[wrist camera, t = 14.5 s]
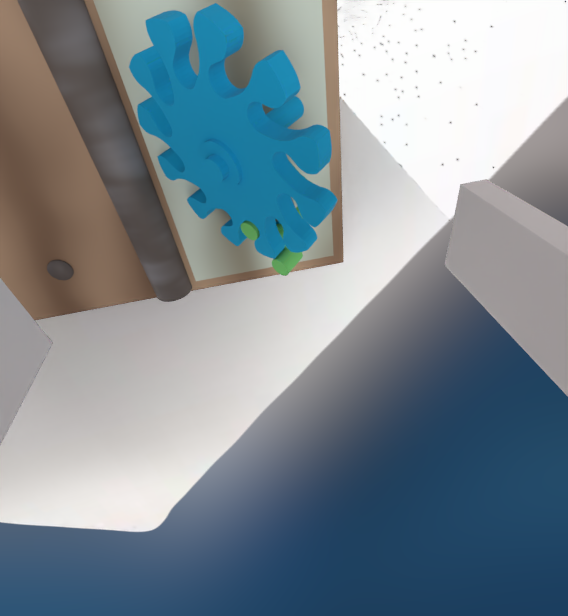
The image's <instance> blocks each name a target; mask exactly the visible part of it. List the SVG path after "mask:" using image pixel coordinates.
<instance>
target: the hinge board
mask: <svg viewBox="0 0 568 616" xmlns="http://www.w3.org/2000/svg"><path fill="white" fill-rule="evenodd" d="M215 3H216V4H218V5H220V6H221V7H223V8H224V9H226V10H227V11H228V12H229V13H231V14H232V15H233V16H234V17H235V18H236V19H237V20H238V22H239V23H240V24H241V26H242V27H243V32H244V40H243V44H242V47H241V48H240V50H238V51H237V52H235V53H234V54H232V55H230V56H228V57H227V58H226V59H225V63H224V66H225V72H226V75H227V77H228V79H229V81H230V82H231V83H232V84H233V85H234V86H235V87H237V88H239V89H242V88H246V87H247V86H248V84H249V81H250V79H251V76H252V72H253V68H254V66H255V65H256V64H257V63H258V62H259V61H261V60H262V59H264V58H265V57H267V56H269V55H270V54H272V53H273V52H275V51H278V50H284V52H285V54H286V55H287V57H288V59H289V60H290V62H291V64H292V66H293V68H294V69H295V71H296V74H297V76H298V79H299V83H300V86H301V88H300V91H299V92H298V94H297V95H295V96H296V97H298V98H299V99H300V100H301V101H302V103H303V106H304V113H303V116H302V117H301V118H299V119H298V120H297V121H296V122H294V123H293V124H292V125H291V126H289V127H288V128H289V129H294V130H301V129H305V128H308V127H310V126H312V125H322V126H324V127H326V128H327V129H329V130H330V136H331V145H332V154H331V159H330V162H329V163H328V164H327V165H326V166H325V167H324V168H323V169H322V170H321V171H320V172H319V173H318V174H307V173H305V172H304V171H302V170H301V169H300V168H299V167H298V166H297V165H296V164H295V162H294V161H293V160H292V159H291V158H290V157H289V156H288V155H287V154H286V156H287V158H288V160H289V161H290V162H291V163H292V165H293V166H294V167H295V168H296V169H297V170H298V172H299V173H300V174H301V175H302V176H304V177H305V178H306V179H307V180H309V181H310V182H312V183H314V184H316V185H318V186H320V187H324V188H326V189H328V190H330V191H331V192H332V193H333V194H334V195H335V196H336V198H337V203H336V205H335V207H334V208H333V210H332V211H331V212H330V213H329V215H328V216H327V217H326V218H325V219H324V220H323V221H322V222H321V223H320V224H319V225H318V226H317V227H312V226H311V225H310V226H311V227H312V228H313V229H314V230H315V232H316V234H317V240H316V241H315V242H314V243H313V245H312V246H311V247H310V248H309V249H308V250H307V251H303V252H302V254H303V257H302V259H301V260H300V261H299V262H298V263H297V264H296V266H295V267H294V268H293V269H292V270H291V271H290V272H293V271H299V270H304V269H309V268H315V267H320V266H325V265H331V264H336V263H341V262H343V227H342V187H341V147H340V107H339V67H338V27H337V0H0V278H1V280H2V281H3V282H4V283H5V285H6V286H7V287H8V288H9V289H10V291H11V292H12V293H13V294H14V296H15V297H16V298H17V299H18V301H19V302H20V303H21V304H22V306H23V307H24V308H25V309H26V310H27V312H28V313H29V314H30V315H31V317H32V318H33V319H34V320H39V319H44V318H49V317H54V316H60V315H65V314H70V313H76V312H81V311H86V310H92V309H97V308H102V307H108V306H113V305H118V304H124V303H129V302H134V301H139V300H145V299H150V298H155V297H157V298H158V299H159V300H161V301H165V302H170V301H175V300H178V299H181V298H183V297H185V296H186V295H187V294H188V293H189V292H190V291H193V290H198V289H203V288H208V287H214V286H219V285H224V284H230V283H235V282H240V281H246V280H251V279H256V278H262V277H267V276H272V275H278V274H279V273H278V272H277V271H276V270H275V269H274V268H273V266H272V260H273V258H269V257H267V256H264V255H262V254H261V253H259V252H257V250H256V248H255V245H254V242H255V240H251V239H249V238H246V239H245V240H244V241H243V242H242V243H241V244H240V245H239V246H236V245H234V244H233V243H232V242H230V241H229V240H228V239H227V238H226V237H225V236H224V235H223V234H222V233H221V227H222V226H223V225H224V224H225V223H227V222H228V221H229V220H230V219H231V217H230V216H229V214H228V213H227V212H226V211H224V210H222V209H215V210H214V211H213V212H212V213H211V214H209V215H208V216H207V217H206V218H204V219H201V218H199V217H198V215H197V214H196V213H195V212H194V210H193V209H192V208H191V206H190V205H189V203H188V201H187V199H188V197H190V196H191V195H192V194H193V193H195V192H196V191H197V190H199V189H200V188H199V187H198V186H196V185H194V184H193V183H191V182H189V181H187V180H184V179H176V180H174V181H173V180H170V179H168V178H167V177H166V176H165V174H164V172H163V170H162V168H161V166H160V164H159V161H158V157H157V156H159V155H160V154H162V153H163V152H165V151H166V150H168V149H169V148H171V147H170V146H169V145H168V144H166V143H165V142H164V141H163V140H161V139H160V138H158V137H156V136H154V135H150V134H149V133H147V132H146V131H145V130H144V129H143V128H142V127H141V126H140V124H139V119H138V113H137V107H138V104H140V103H142V102H143V101H145V100H147V99H149V98H150V97H152V96H151V95H150V94H149V93H148V92H147V90H146V89H145V88H143V87H142V86H141V85H140V84H139V83H138V82H137V81H136V79H135V78H134V77H133V75H132V73H131V71H130V69H129V65H130V61H131V59H132V57H133V56H134V55H135V54H137V53H139V52H141V51H143V50H145V49H147V48H149V47H151V46H154V45H153V43H152V41H151V39H150V37H149V35H148V32H147V28H146V21H145V20H147V19H149V18H152V17H154V16H156V15H158V14H161V13H163V12H166V11H172V10H176V11H180V12H182V13H184V14H186V16H187V18H188V20H189V23H190V26H191V29H192V35H193V40H192V45H191V48H190V52H189V60H190V64H191V66H192V69H193V70H194V72H195V74H196V75H197V76H198V73H199V52H198V46H197V42H196V38H195V34H194V28H193V20H194V16H195V14H196V13H197V11H200V10H202V9H204V8H206V7H208V6H210V5H212V4H215ZM262 107H263V110H264V112H265V114H267V113H268V112H270V111H271V110H272V109H274V108H270V107H267V106H265V105H263V104H262ZM292 200H293V202H294V205H295V207H297V204H296V202H295V200H294V199H293V198H292Z"/></svg>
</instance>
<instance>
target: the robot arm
mask: <svg viewBox="0 0 568 616" xmlns="http://www.w3.org/2000/svg"><path fill="white" fill-rule="evenodd" d="M445 266H446V267H447V268H448V269H449V270H450V272H452V274H453V275H454V276H455V277H456V278H457V279H458V280H459V281H460V282H461V283H462V284H463V285H464V286H465V287H466V289H467V290H468V291H469V292H470V293H471V294H472V295H473V296H474V297H475V298H476V299H477V300H478V301H479V302H480V303H481V304H482V305H483V306H484V308H485V309H486V310H487V311H488V312H489V313H490V314H491V315H492V316H493V317H494V318H495V319H496V320H497V321H498V323H499V324H500V325H501V326H502V327H503V328H504V329H505V330H506V331H507V332H508V333H509V334H510V335H511V336H512V337H513V339H514V340H516V342H517V343H518V344H519V345H520V346H521V347H522V348H523V349H524V350H525V351H526V352H527V353H528V354H529V356H531V358H532V359H533V360H534V361H535V362H536V363H537V364H538V365H539V366H540V367H541V368H542V369H543V370H544V371H545V373H546V374H547V375H548V376H549V377H550V378H551V379H552V380H553V381H554V382H555V383H556V384H557V385H558V386H559V387H560V388H561V390H562V391H563V392H564V393H565V394H566V395H567V396H568V226H566V225H564V224H563V223H561V222H559V221H558V220H556V219H554V218H552V217H550V216H549V215H547V214H545V213H544V212H542V211H540V210H539V209H537V208H535V207H533V206H532V205H530V204H528V203H527V202H525V201H523V200H521V199H520V198H518V197H516V196H514V195H513V194H511V193H509V192H508V191H506V190H504V189H502V188H501V187H499V186H497V185H496V184H494V183H492V182H490V181H489V180H487V179H486V180H481V181H475V182H470V183H465V184H461V185H460V190H459V195H458V200H457V205H456V210H455V215H454V220H453V225H452V230H451V236H450V240H449V245H448V250H447V256H446V261H445ZM51 345H52V341H51V340H50V339H49V338H48V336H47V335H46V334H45V333H44V332H43V330H42V329H41V328H40V327H39V325H38V324H37V323H36V322H35V320H34V319H33V318H32V317H31V315H30V314H29V313H28V312H27V310H26V309H25V308H24V307H23V306H22V304H21V303H20V302H19V301H18V299H17V298H16V297H15V296H14V294H13V293H12V292H11V291H10V289H9V288H8V287H7V286H6V285H5V283H4V282H3V281H2V280H1V278H0V445H1V443H2V441H3V439H4V437H5V435H6V433H7V431H8V429H9V427H10V425H11V423H12V421H13V420H14V418H15V416H16V414H17V412H18V410H19V408H20V406H21V404H22V402H23V400H24V398H25V396H26V394H27V392H28V390H29V388H30V386H31V384H32V382H33V380H34V378H35V377H36V375H37V373H38V371H39V369H40V367H41V365H42V363H43V361H44V359H45V357H46V355H47V353H48V351H49V349H50V347H51Z"/></svg>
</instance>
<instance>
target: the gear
mask: <svg viewBox="0 0 568 616" xmlns="http://www.w3.org/2000/svg"><path fill="white" fill-rule="evenodd" d="M145 21H146V28H147V32H148V35H149V37H150V39H151V41H152V43H153V45H154V46H151V47H149V48H147V49H145V50H143V51H141V52H139V53H137V54H135V55H134V56H133V57H132V59H131V61H130V65H129V69H130V71H131V73H132V75H133V77H134V78H135V79H136V81H137V82H138V83H139V84H140V85H141V86H142V87H143V88H145V89H146V90H147V92H148V93H149V94H150V95H151V96H152V97H150V98H149V99H147V100H145V101H143V102H142V103H140V104H138V107H137V113H138V119H139V124H140V126H141V127H142V128H143V129H144V130H145V131H146V132H147V133H149V134H150V135H154V136H156V137H158V138H160V139H161V140H163V141H164V142H165V143H166V144H168V145H169V146H170V147H171V148H169V149H168V150H166V151H165V152H163V153H162V154H160V155H159V156H157V157H158V161H159V164H160V166H161V168H162V170H163V172H164V174H165V176H166V177H167V178H168V179H170V180H173V181H174V180H176V179H184V180H187V181H189V182H191V183H193V184H194V185H196V186H198V187H199V188H200V189H199V190H197V191H196V192H195V193H193V194H192V195H191V196H190V197H188V199H187V201H188V203H189V205H190V206H191V208H192V209H193V210H194V212H195V213H196V214H197V215H198V217H199V218H201V219H204V218H206V217H207V216H208V215H209V214H211V213H212V212H213V211H214V210H215V209H222V210H224V211H226V212H227V213H228V214H229V216H230V217H231V219H230V220H229V221H228V222H227V223H225V224H224V225H223V226H222V227H221V233H222V234H223V235H224V236H225V237H226V238H227V239H228V240H229V241H230V242H232V243H233V244H234V245H236V246H239V245H240V244H241V243H242V242H243V241H244V240H245V239H246V238H249V239H251V240H255V242H254V245H255V248H256V250H257V252H259V253H261V254H262V255H264V256H267V257H269V258H273V260H272V266H273V268H274V269H275V270H276V271H277V272H278V273H279V274H281V275H285V276H286V275H288V273H289V272H290V271H291V270H292V269H293V268H294V267H295V266H296V264H297V263H298V262H299V261H300V260H301V259H302V257H303V254H302V252H303V251H307V250H308V249H309V248H310V247H311V246H312V245H313V243H314V242H315V241H316V240H317V234H316V232H315V230H314V229H313V228H312V227H317V226H318V225H319V224H320V223H321V222H322V221H323V220H324V219H325V218H326V217H327V216H328V215H329V213H330V212H331V211H332V210H333V208H334V207H335V205H336V203H337V198H336V196H335V195H334V194H333V193H332V192H331V191H330V190H328V189H326V188H324V187H320V186H318V185H316V184H314V183H312V182H310V181H309V180H307V179H306V178H305V177H304V176H302V175H301V174H300V173H299V172H298V170H297V169H296V168H295V167H294V166H293V165H292V163H291V162H290V161H289V160H288V158H287V156H286V154H287V155H288V156H289V157H290V158H291V159H292V160H293V161H294V162H295V164H296V165H297V166H298V167H299V168H300V169H301V170H302V171H304V172H305V173H307V174H318V173H319V172H320V171H321V170H322V169H323V168H324V167H325V166H326V165H327V164H328V163H329V162H330V159H331V154H332V145H331V136H330V130H329V129H327V128H326V127H324V126H322V125H312V126H310V127H308V128H305V129H301V130H294V129H289V128H288V127H289V126H291V125H292V124H293V123H294V122H296V121H297V120H298V119H299V118H301V117H302V116H303V113H304V106H303V103H302V101H301V100H300V99H299V98H298V97H296V96H295V95H297V94H298V92H299V91H300V88H301V86H300V83H299V79H298V76H297V74H296V71H295V69H294V68H293V66H292V64H291V62H290V60H289V59H288V57H287V55H286V54H285V52H284V50H278V51H275V52H273V53H272V54H270V55H269V56H267V57H265V58H264V59H262V60H261V61H259V62H258V63H257V64H256V65H255V66H254V68H253V72H252V76H251V79H250V81H249V84H248V86H247V87H246V88H242V89H239V88H237V87H235V86H234V85H233V84H232V83H231V82H230V81H229V79H228V77H227V75H226V72H225V66H224V63H225V59H226V58H227V57H228V56H230V55H232V54H234V53H235V52H237V51H238V50H240V48H241V47H242V44H243V40H244V32H243V27H242V26H241V24H240V23H239V22H238V20H237V19H236V18H235V17H234V16H233V15H232V14H231V13H229V12H228V11H227V10H226V9H224V8H223V7H221V6H220V5H218V4H216V3H215V4H212V5H210V6H208V7H206V8H204V9H202V10H200V11H197V13H196V14H195V16H194V20H193V28H194V34H195V38H196V42H197V46H198V52H199V73H198V76H197V75H196V74H195V72H194V70H193V69H192V66H191V64H190V60H189V52H190V48H191V45H192V40H193V35H192V29H191V26H190V23H189V20H188V18H187V16H186V14H184V13H182V12H180V11H176V10H172V11H166V12H163V13H161V14H158V15H156V16H154V17H152V18H149V19H147V20H145ZM262 104H263V105H265V106H267V107H270V108H274V109H272V110H271V111H270V112H268V113H267V114H265V112H264V110H263V107H262ZM292 198H293V199H294V200H295V202H296V204H297V207H295V205H294V202H293V200H292ZM310 225H311V226H312V227H311V226H310Z"/></svg>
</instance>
